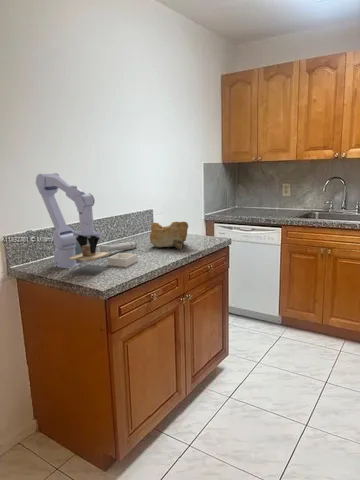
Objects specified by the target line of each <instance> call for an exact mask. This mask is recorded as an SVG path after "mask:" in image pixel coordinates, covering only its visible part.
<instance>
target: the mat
mask: <svg viewBox="0 0 360 480" xmlns="http://www.w3.org/2000/svg"><path fill="white" fill-rule="evenodd" d="M111 268H113V267H112V266H109V265H107V266H105V265H97V264H85V265H82V266H81V267H78V268H76V269H73V270H71V271H69V273H68V274H72V273H73V274H72V275H74V274H75V275H82V276H83V275H84V276H89V277H90V276H91V277H94V276H97V275H99V274H101V273H103V272H106V271H108V270H109V269H111Z"/></svg>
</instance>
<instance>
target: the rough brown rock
mask: <svg viewBox="0 0 360 480" xmlns="http://www.w3.org/2000/svg"><path fill="white" fill-rule="evenodd" d="M188 229H189V223H188V222H186V221H173V222H171V224H169V225H167V226H162V225H161V224H160V223H158V222H152V223H151V227H150V233H149V242H150V244H151V245H152V246H154V247H156V248H171V247H174V248H175V249H179V250H181V249H182V248H183V246H185V242H186V240H187V237H188V236H187V235H188Z"/></svg>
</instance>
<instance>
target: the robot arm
mask: <svg viewBox="0 0 360 480" xmlns="http://www.w3.org/2000/svg"><path fill="white" fill-rule="evenodd" d="M35 186H36V188H37V190H38V192H39V194H40V196H41V198H42V201H43V203H44V205H45V206H44V207H46V210H47V212H48V215H49V217H50V220H51V222H52V224H53V227H54V229H55V230H54V231H53V233H52V239H53V245H54V246H55V247H56V248H55V249H54V252H53V261H54V265H53V267H54V268H63V269H71V268H74V267H77V266H78V265H81V263H79V262H77V260H70V259H68V258H69V257H72V256H75V247H76V244H77V243H79V244H80V246H81V249H82V246H84V245H87V238H88V237H90V238H88V241H89V243H90V249H91V253H92V254H93V253H95V251H96V250H97V246H98V242H99V240H100V238H103V234H104V233H103V232H100V231H95V228H94V227H95V226H94V213H93V206H95V196H94V195H93V194H91V193H90V192H89V193H85V191H83V190H81V189H80V188H78V186H77V185H76V184H75V185H70V184H69V183H68V182H67V181H65V180H64V179H63V178H62V175H60V174H59V173H57V172H54V173H38V174H37V176H36V177H35ZM59 190H61V191H63V192H64V193H65V195H66V197H67V198H69V199H70V200H71V201H73V202H74V204H75V207H76V210H77V212H78V220H79V228H80V230H75V231H74V229H73V228H72V227H71V226H68V225H67V223H66V221H65V218H64V215H63V213H62V211H61V208H60V206H59V204H58V201H57V199H56V196H55V194H57V192H58V191H59ZM77 236H78V237H77ZM96 252H97V251H96ZM56 266H57V267H56Z"/></svg>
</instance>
